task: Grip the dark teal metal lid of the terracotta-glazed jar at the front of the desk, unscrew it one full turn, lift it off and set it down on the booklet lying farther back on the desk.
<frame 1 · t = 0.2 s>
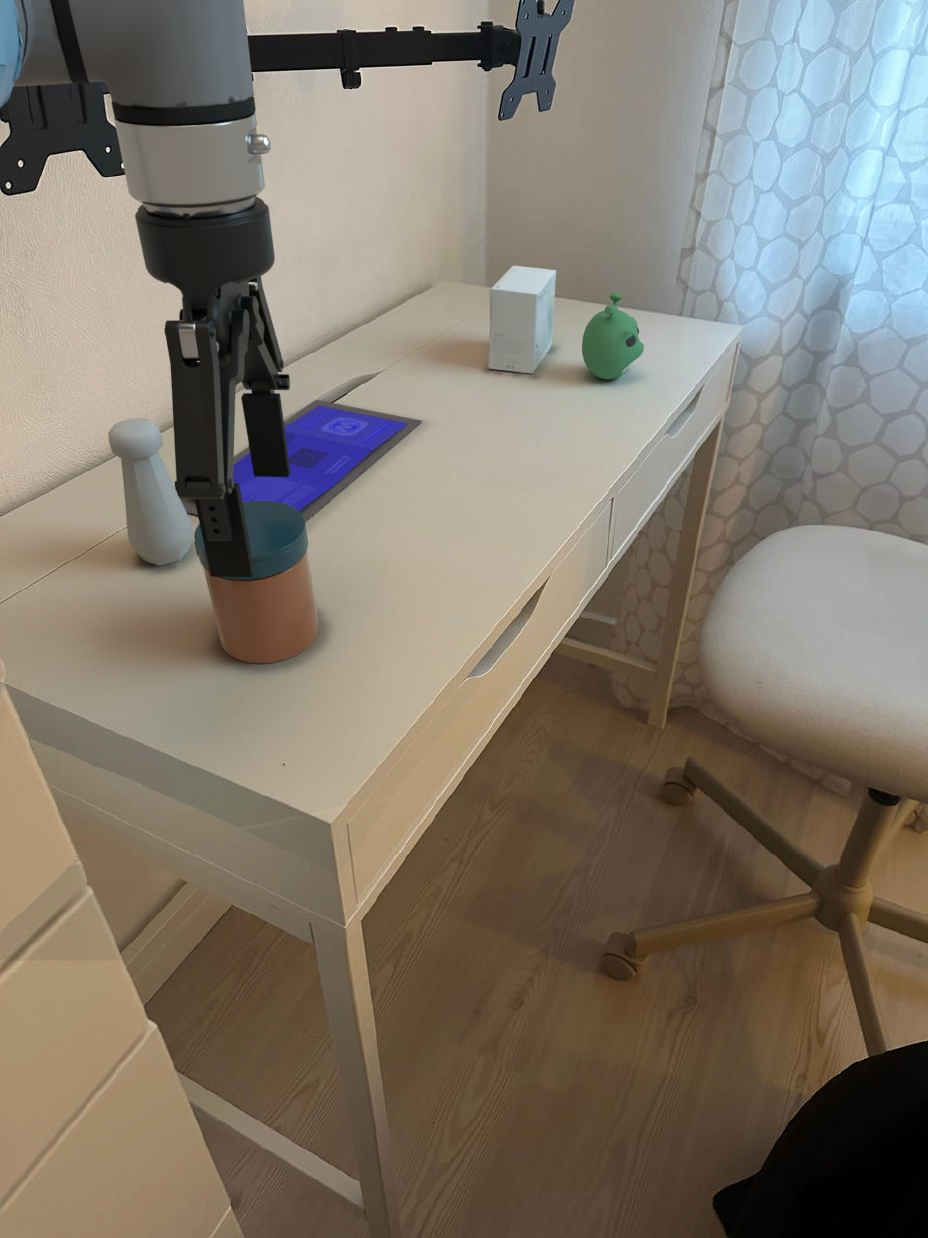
hand: (254, 520, 64), 12 cm above the table, tool pointing down, fingers open, 13 cm apart
jar: (270, 632, 74), on the table
alien toy: (609, 378, 114), on the table
booklet: (302, 461, 98), on the table
salt shaker: (166, 554, 84), on the table
jar lid: (250, 532, 68), point 10 cm above the table, screwed on, not yet turned
cosmetics box: (521, 359, 120), on the table
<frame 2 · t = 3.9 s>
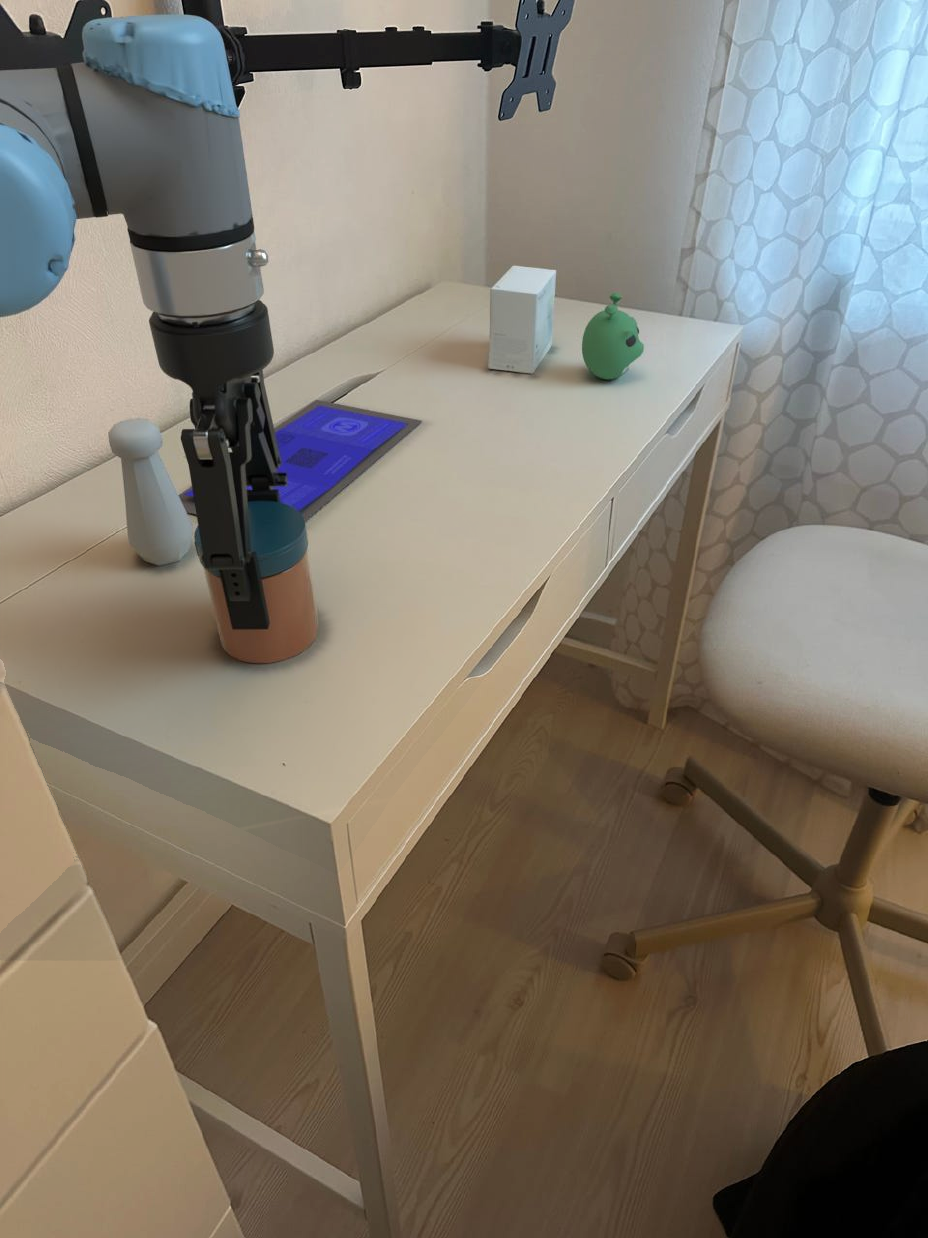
hand: (262, 591, 71), 4 cm above the table, tool pointing down, fingers closed on jar lid, 8 cm apart
jar lid: (251, 532, 68), point 10 cm above the table, screwed on, not yet turned, touching gripper
everything else where it was.
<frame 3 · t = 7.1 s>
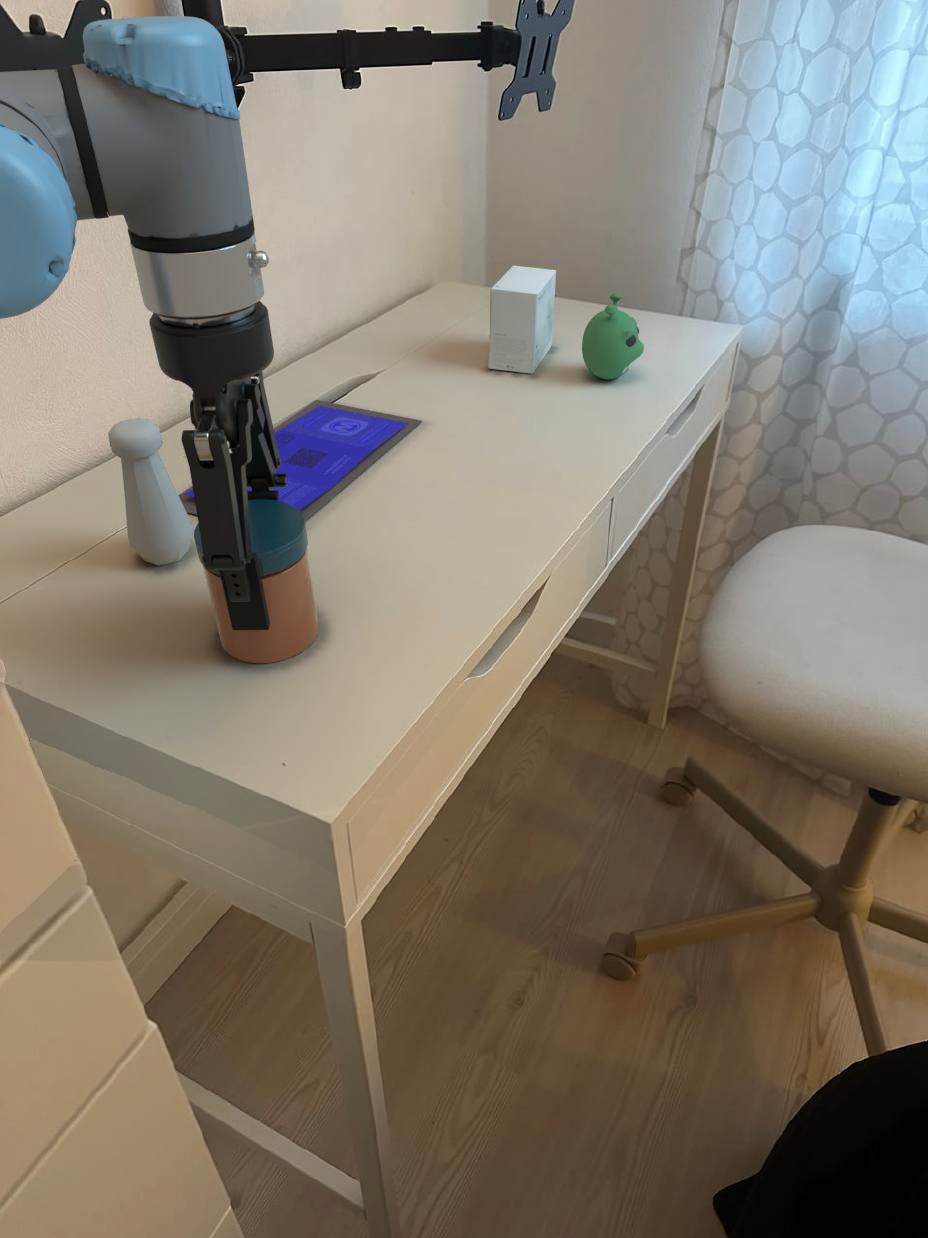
hand: (262, 592, 71), 4 cm above the table, tool pointing down, fingers closed on jar lid, 8 cm apart
jar lid: (250, 530, 68), point 10 cm above the table, turned 97° so far, risen 0.1 cm, still on its thread, touching gripper
everything else where it was.
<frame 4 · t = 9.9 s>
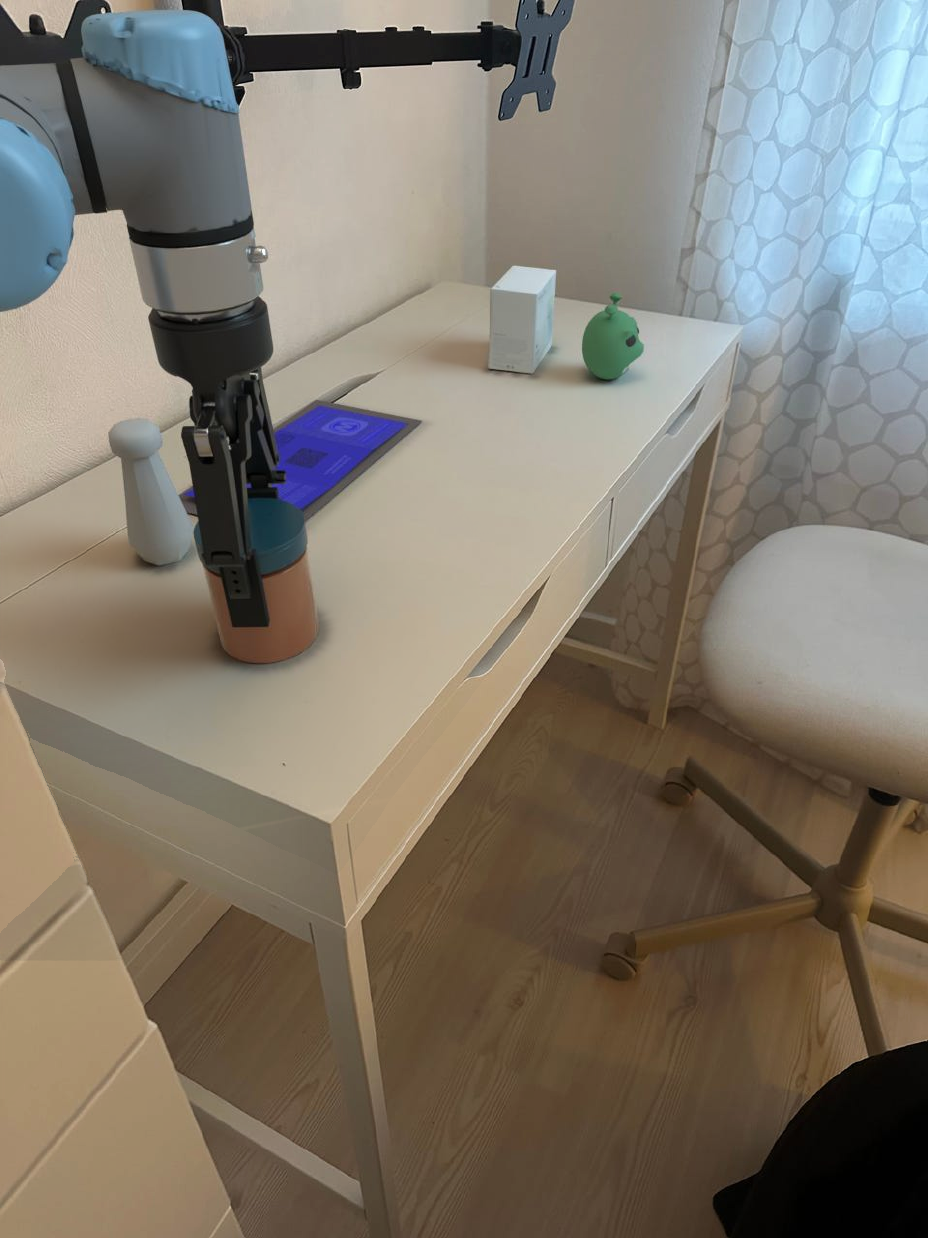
hand: (261, 589, 71), 4 cm above the table, tool pointing down, fingers closed on jar lid, 8 cm apart
jar lid: (250, 529, 68), point 10 cm above the table, turned 194° so far, risen 0.3 cm, still on its thread, touching gripper
everything else where it was.
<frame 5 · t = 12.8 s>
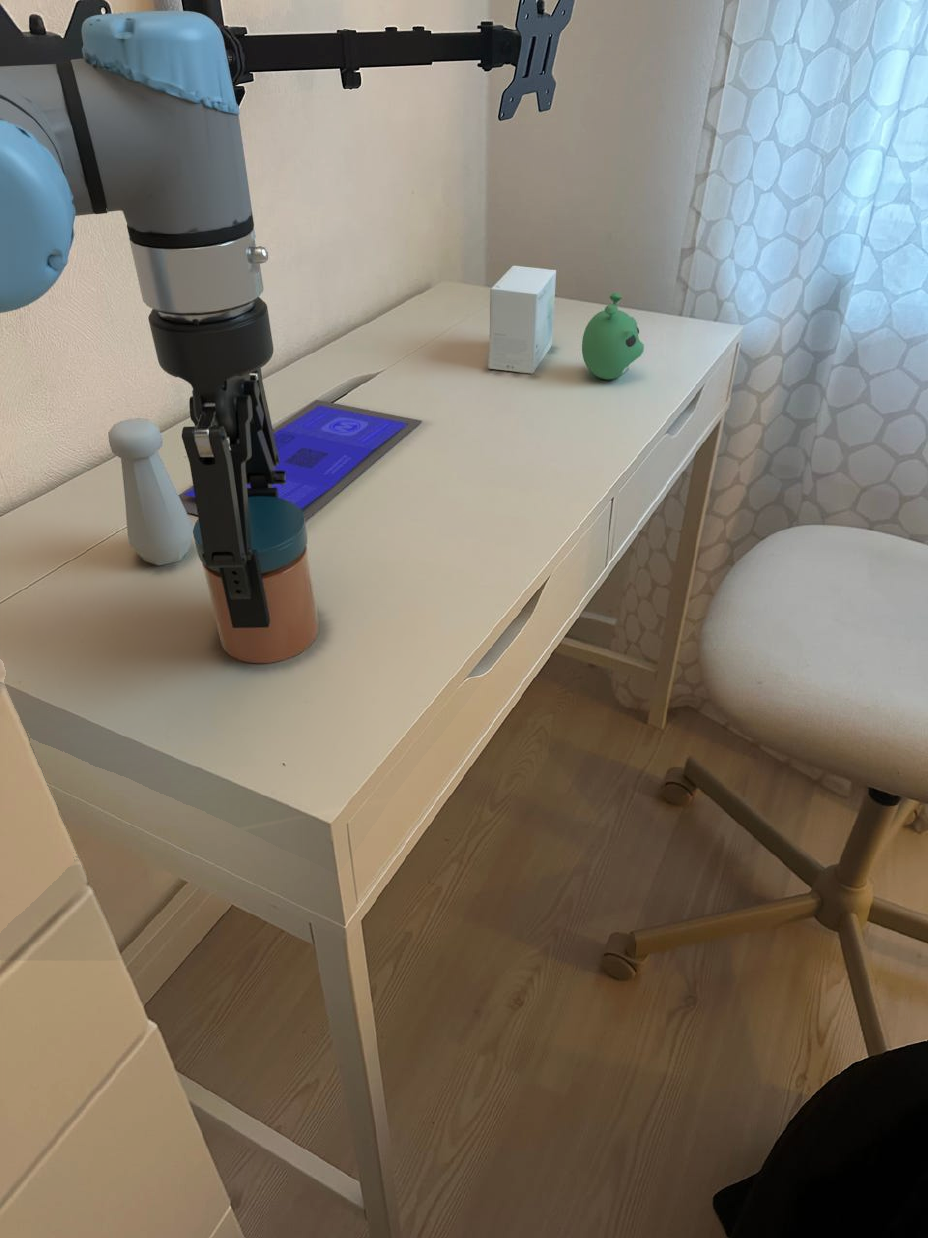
hand: (261, 589, 71), 4 cm above the table, tool pointing down, fingers closed on jar lid, 8 cm apart
jar lid: (250, 527, 68), point 10 cm above the table, turned 291° so far, risen 0.4 cm, still on its thread, touching gripper
everything else where it was.
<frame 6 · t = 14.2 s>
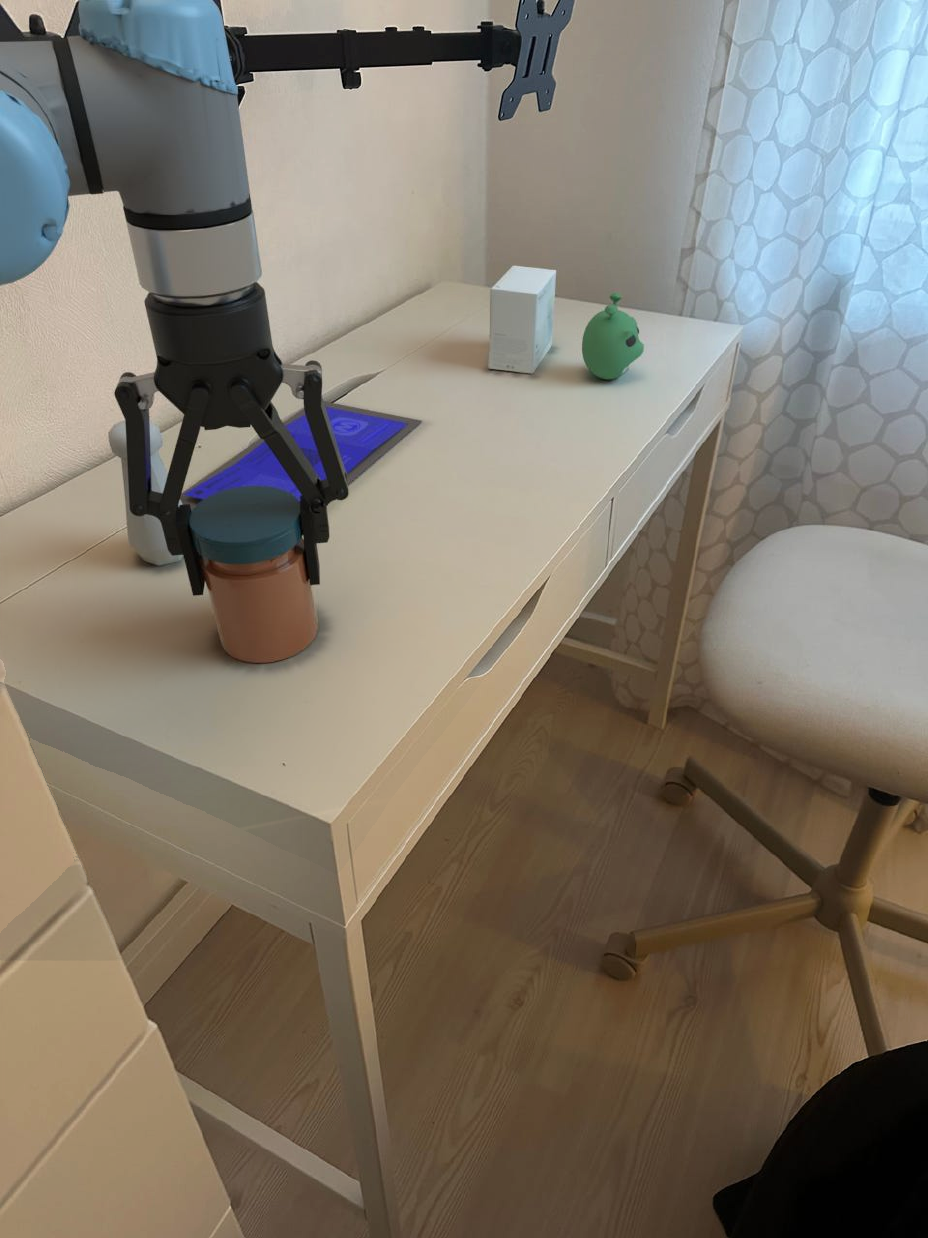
hand: (257, 579, 70), 5 cm above the table, tool pointing down, fingers closed on jar lid, 8 cm apart
jar: (270, 631, 74), on the table, touching gripper
jar lid: (246, 517, 67), point 11 cm above the table, off its thread, touching gripper
everything else where it was.
when the fingers open (3 cm above the table, at t = 21.3 s): jar lid drops 7 cm, resting on booklet.
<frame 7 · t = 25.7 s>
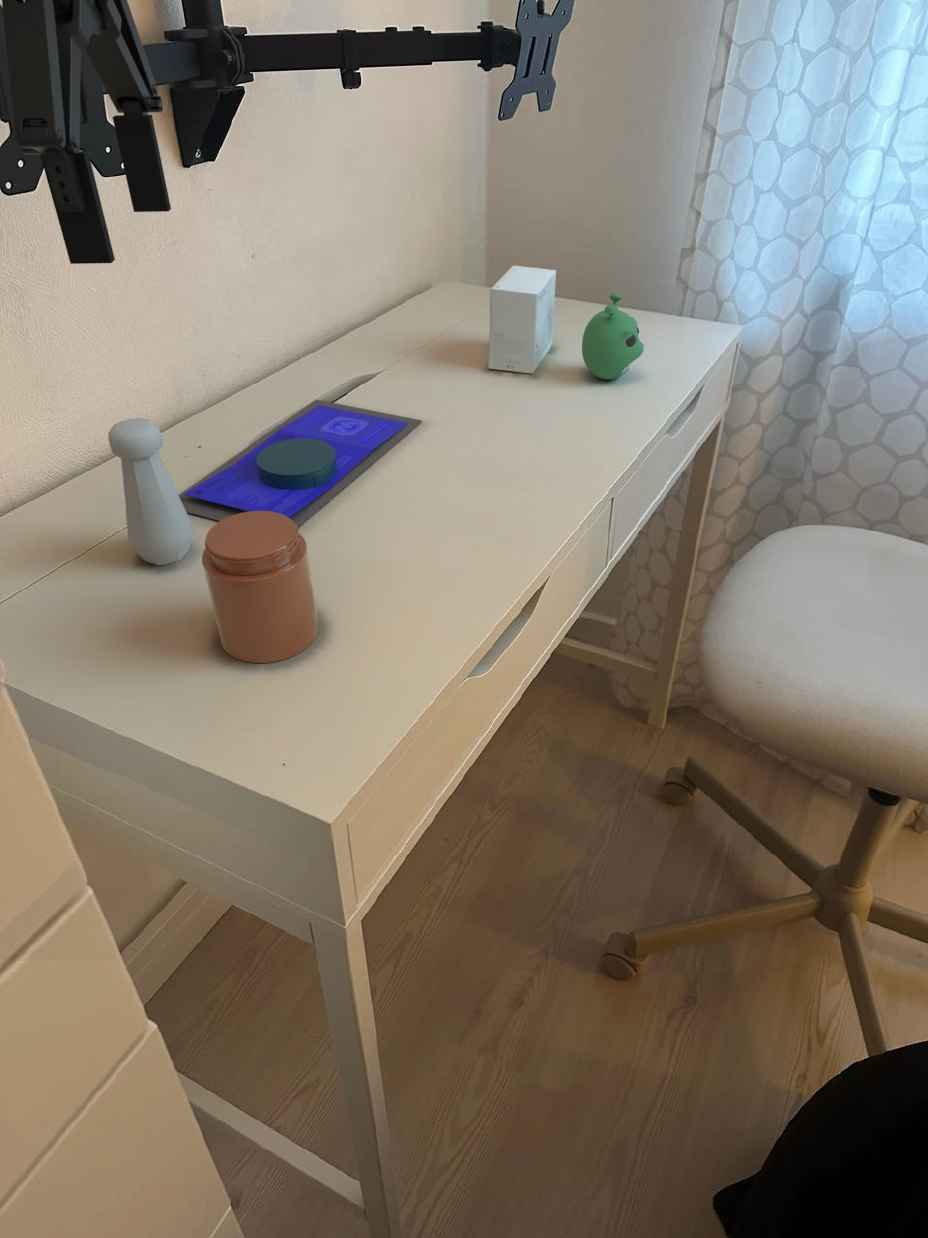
hand: (125, 234, 64), 29 cm above the table, tool pointing down, fingers open, 13 cm apart
jar: (270, 632, 74), on the table
booklet: (302, 461, 98), on the table, touching jar lid
jar lid: (296, 459, 94), point 2 cm above the table, off its thread, touching booklet
everything else where it was.
at the end: jar lid came off its thread; jar lid inside the target area on the booklet (2.0 cm from its centre), point 1.8 cm above the booklet's base; the gripper is holding nothing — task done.
